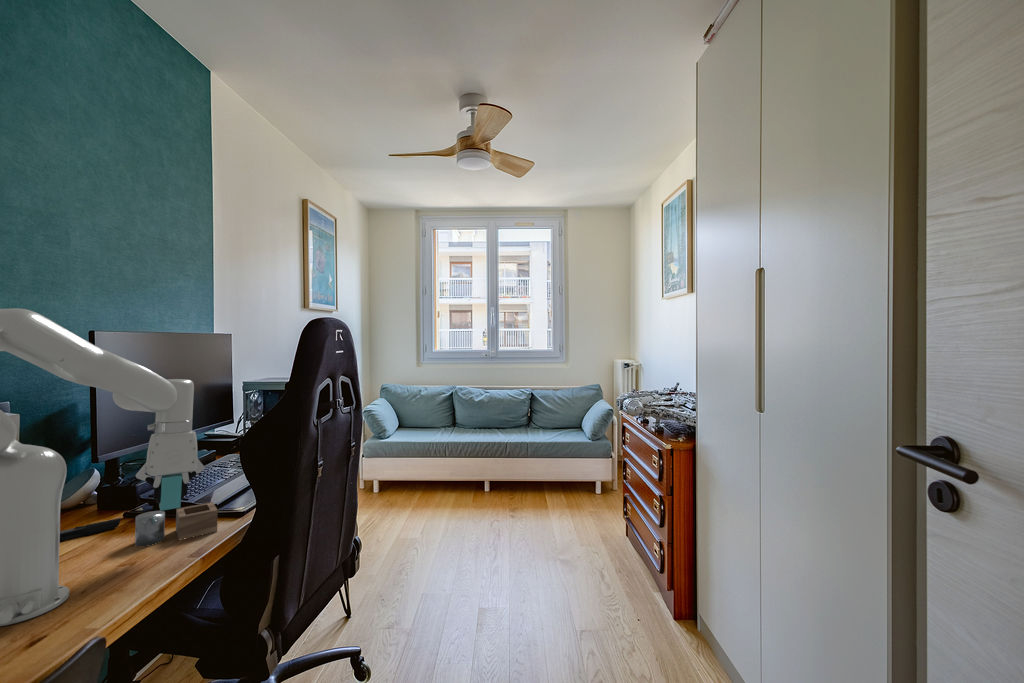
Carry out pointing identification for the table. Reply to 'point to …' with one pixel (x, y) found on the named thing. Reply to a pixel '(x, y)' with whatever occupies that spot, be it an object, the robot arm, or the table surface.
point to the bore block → (196, 520)
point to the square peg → (170, 491)
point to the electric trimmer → (89, 529)
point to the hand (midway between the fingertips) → (170, 499)
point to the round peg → (149, 528)
